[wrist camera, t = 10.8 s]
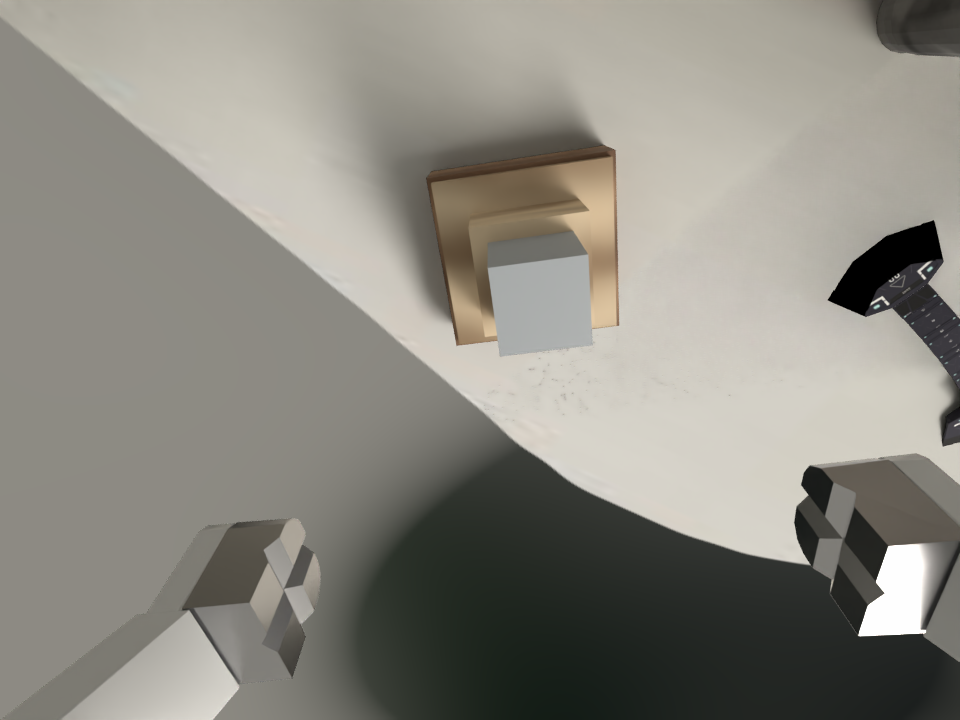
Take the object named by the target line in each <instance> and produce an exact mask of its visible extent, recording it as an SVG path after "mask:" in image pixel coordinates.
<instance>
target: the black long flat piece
mask: <svg viewBox="0 0 960 720" xmlns="http://www.w3.org/2000/svg"><path fill="white" fill-rule="evenodd" d="M943 262H944V261H943V257H942V252H941V248H940V243H939V239H938V234H937V230H936V226H935V222H934V220H933V221H930V222H927V223H923V224H921V225H919V226H915V227H912V228H909V229H906V230H903V231H900V232H897V233H894V234H891V235H888V236H886V237H884V238H883V239H882V240H881V241H879V242H878V243H877V244H875V245H874V246H873V247H871V248H870V249H869V250H868V251H866V252H865V253H864V254H862V255H861V256H860V257H858V258H857V259H856V260H854V261H853V262H852V264H851V265H850V267H849V268H848V270H847V271H846V273H845V274H844V276H843V277H842V279H841V280H840V282H839V283H838V285H837V287H836V289H835V290H833V292H832V294H831V296H830V297H829V299H828V301H830V302H832V303H835V304H837V305H839V306H842V307H844V308H846V309H849V310H851V311H853V312H856V313H858V314H860V315H863V316H865V317H867V316H870V315H873V314H876V313H879V312H882V311H885V310H888V309H891V308H893V309H894V310H895V311H896V312H897V314H898V315H899V316H900V317H901V318H902V319H904V320H905V321H906V322H907V324H909V326H910V327H911V328H912V329H913V330H914V331H915V332H916V334H917V335H918V336H919V337H920V338H921V339H922V340H923V341H924V343H925V344H926V345H927V346H928V347H929V348H930V350H931V351H932V352H933V353H934V355H935V356H936V357H937V358H938V359H939V361H940V362H941V363H942V365H943V366H944V367H945V369H946V370H947V371H948V373H949V374H950V375H951V376H952V378H953V380H954V381H955V383H956V385H957V386H958V388H959V389H960V319H959V317H958V316H957V315H956V314H955V313H954V312H953V311H952V309H951V308H950V307H949V306H948V305H947V304H946V303H945V302H944V301H943V299H942V298H941V297H940V296H938V294H937V293H936V291H935V290H934V289H933V288H932V287H931V286H930V285H929V284H928V282H929V281H930V280H931V278H932V277H933V276H934V274H935V273H936V272H937V270H938V269H939V267H940V266H941V265H942V263H943ZM923 286H924V287H923ZM920 288H921V289H920ZM917 290H918V291H917ZM910 295H911V296H910ZM907 297H908V298H907ZM897 304H898V305H897ZM923 305H924V306H923ZM959 442H960V407H959V408H957V409H956V410H954V411H953V412H952V413H950V414H949V415H947V416H946V429H945V432H944V436H943V439H942V444H943V446H947V445H951V444H953V443H959Z"/></svg>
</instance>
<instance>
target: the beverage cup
mask: <svg viewBox="0 0 960 720" xmlns="http://www.w3.org/2000/svg"><path fill="white" fill-rule="evenodd" d="M877 30H878V36H879V38H880V40H881V42H882V44H883V45H884V46H885V47H887V48H888V49H889V50H890V51H894V52H898V53H911V54H915V55H928V56H957V57H960V0H883V2H882V4H881V6H880V8H879V13H878V18H877Z"/></svg>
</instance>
